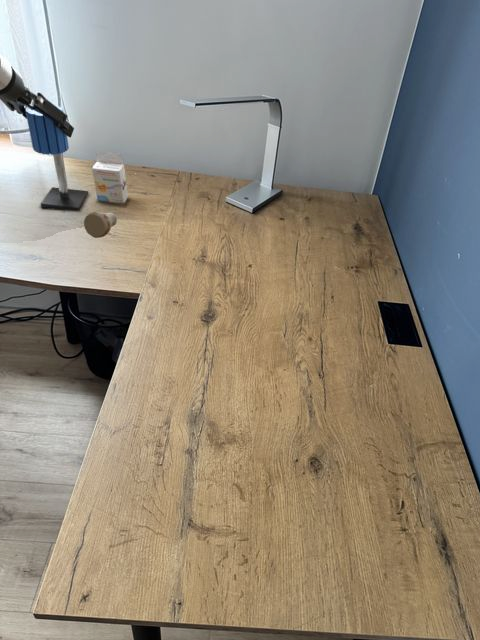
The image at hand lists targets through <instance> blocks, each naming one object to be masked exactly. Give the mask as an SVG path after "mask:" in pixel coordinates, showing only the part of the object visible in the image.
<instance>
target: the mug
mask: <svg viewBox="0 0 480 640" xmlns="http://www.w3.org/2000/svg"><path fill="white" fill-rule="evenodd" d="M117 222H118V219H117V217H116V215H115V214H114V213H113V212H106V213H104V212H101V211H92V212H90V213H88V214H87V215H85V218H84V220H83V227H84V230H85V231H86V233H87V234H88V235H90V236H91V237H92V238H93V239H94V238H95V239H100V238H103V237H105V236H107V235H108V234H109V232H110V231H111V229H112V227H114V226H115V225H116V224H117Z"/></svg>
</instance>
